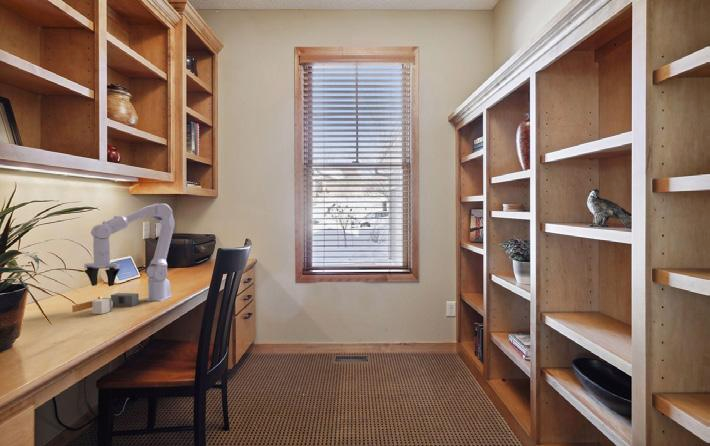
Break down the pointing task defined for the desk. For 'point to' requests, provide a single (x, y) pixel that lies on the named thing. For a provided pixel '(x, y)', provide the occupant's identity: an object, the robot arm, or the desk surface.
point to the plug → (102, 305)
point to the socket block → (125, 299)
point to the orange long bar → (82, 306)
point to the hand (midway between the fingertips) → (102, 285)
